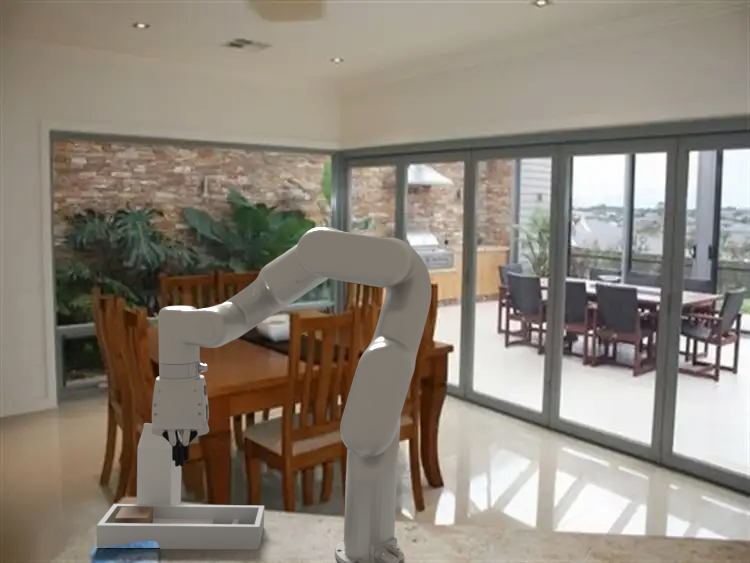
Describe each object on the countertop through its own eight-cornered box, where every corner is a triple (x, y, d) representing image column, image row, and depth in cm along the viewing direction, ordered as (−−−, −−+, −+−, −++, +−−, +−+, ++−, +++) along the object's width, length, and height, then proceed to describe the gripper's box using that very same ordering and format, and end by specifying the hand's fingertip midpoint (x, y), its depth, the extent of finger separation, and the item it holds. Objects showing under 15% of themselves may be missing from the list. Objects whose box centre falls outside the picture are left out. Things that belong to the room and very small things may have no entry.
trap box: (263, 526, 140) (264, 505, 140) (258, 549, 130) (259, 526, 130) (113, 525, 138) (113, 503, 138) (96, 548, 128) (96, 525, 128)
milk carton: (170, 519, 142) (172, 429, 140) (136, 518, 142) (137, 428, 141) (180, 506, 149) (182, 420, 148) (148, 504, 149) (149, 418, 148)
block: (152, 521, 136) (152, 507, 136) (147, 533, 131) (147, 517, 131) (121, 522, 135) (121, 507, 135) (114, 533, 130) (114, 518, 130)
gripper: (222, 366, 136) (223, 457, 137) (145, 367, 135) (146, 458, 136) (215, 374, 128) (217, 470, 130) (134, 374, 127) (136, 471, 129)
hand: (181, 463), depth 133 cm, fingers closed
